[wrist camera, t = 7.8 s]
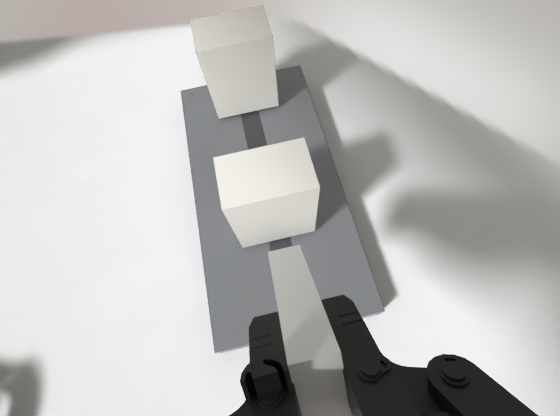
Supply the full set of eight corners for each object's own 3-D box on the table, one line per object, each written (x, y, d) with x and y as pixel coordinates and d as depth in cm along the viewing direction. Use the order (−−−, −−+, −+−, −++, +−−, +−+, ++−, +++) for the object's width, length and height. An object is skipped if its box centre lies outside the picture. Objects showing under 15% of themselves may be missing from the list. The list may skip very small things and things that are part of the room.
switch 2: (314, 230, 25) (320, 187, 18) (242, 247, 24) (221, 209, 18) (303, 191, 26) (304, 137, 20) (235, 206, 26) (213, 157, 19)
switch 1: (278, 105, 30) (272, 36, 23) (218, 118, 30) (195, 52, 23) (270, 78, 31) (262, 5, 25) (213, 90, 31) (190, 20, 24)
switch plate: (378, 314, 24) (385, 310, 22) (221, 352, 24) (214, 352, 22) (293, 60, 35) (292, 44, 33) (184, 83, 35) (177, 68, 33)
